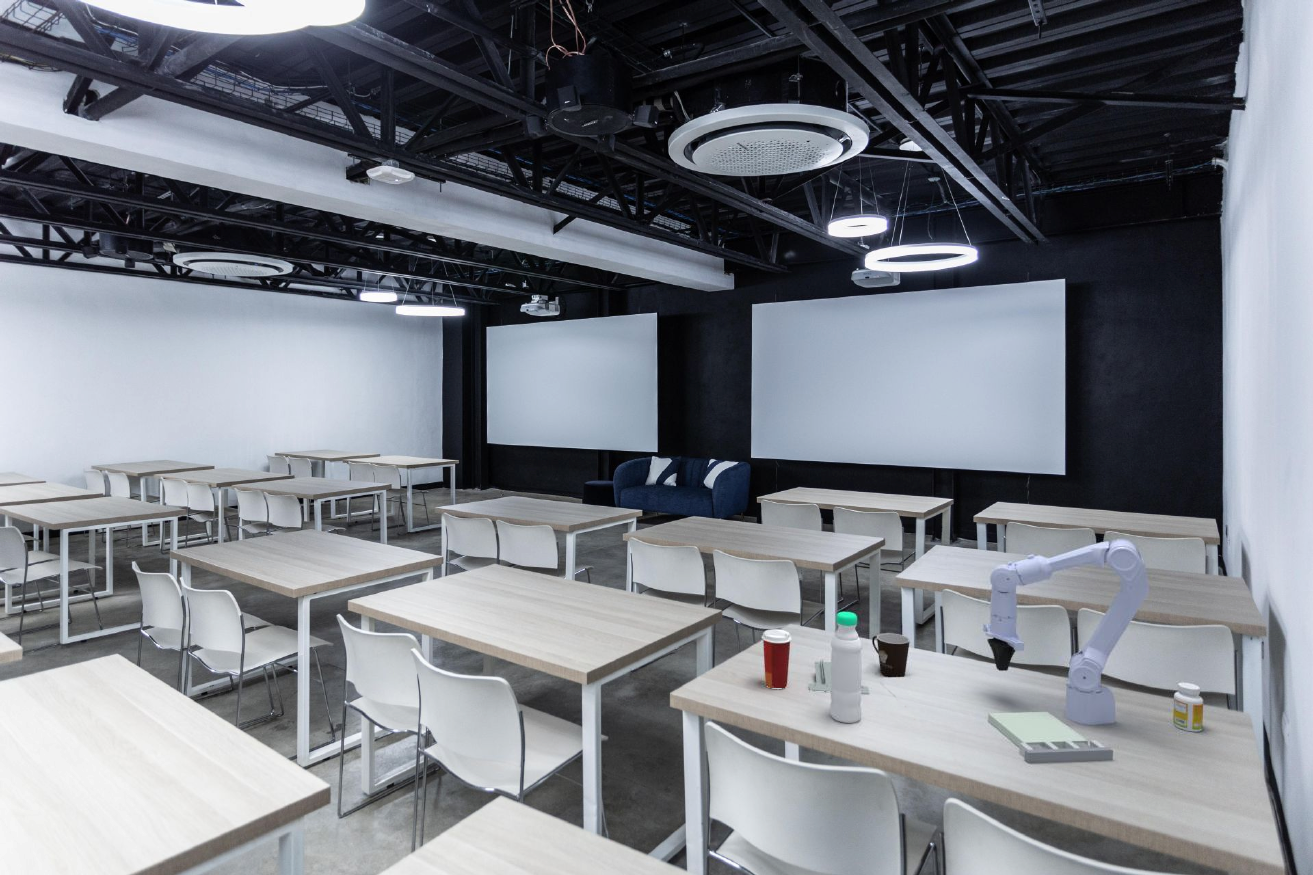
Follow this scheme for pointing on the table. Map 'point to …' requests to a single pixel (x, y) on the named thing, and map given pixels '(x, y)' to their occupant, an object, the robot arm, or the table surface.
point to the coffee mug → (892, 654)
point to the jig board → (1066, 753)
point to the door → (1036, 729)
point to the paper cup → (776, 657)
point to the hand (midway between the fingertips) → (1002, 669)
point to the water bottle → (846, 670)
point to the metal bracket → (827, 678)
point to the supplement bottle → (1188, 708)
